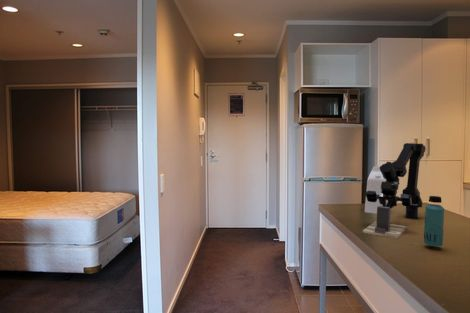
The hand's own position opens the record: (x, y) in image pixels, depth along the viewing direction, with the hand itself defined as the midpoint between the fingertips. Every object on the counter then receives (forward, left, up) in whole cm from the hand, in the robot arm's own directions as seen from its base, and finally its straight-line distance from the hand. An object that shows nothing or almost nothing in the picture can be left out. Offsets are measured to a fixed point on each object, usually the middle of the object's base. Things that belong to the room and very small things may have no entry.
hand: (384, 213), depth 145 cm
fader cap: (+2, 0, -7) cm, 7 cm away
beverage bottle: (+15, +18, -8) cm, 25 cm away
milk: (-43, -5, -8) cm, 44 cm away
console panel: (-2, 0, -8) cm, 8 cm away
